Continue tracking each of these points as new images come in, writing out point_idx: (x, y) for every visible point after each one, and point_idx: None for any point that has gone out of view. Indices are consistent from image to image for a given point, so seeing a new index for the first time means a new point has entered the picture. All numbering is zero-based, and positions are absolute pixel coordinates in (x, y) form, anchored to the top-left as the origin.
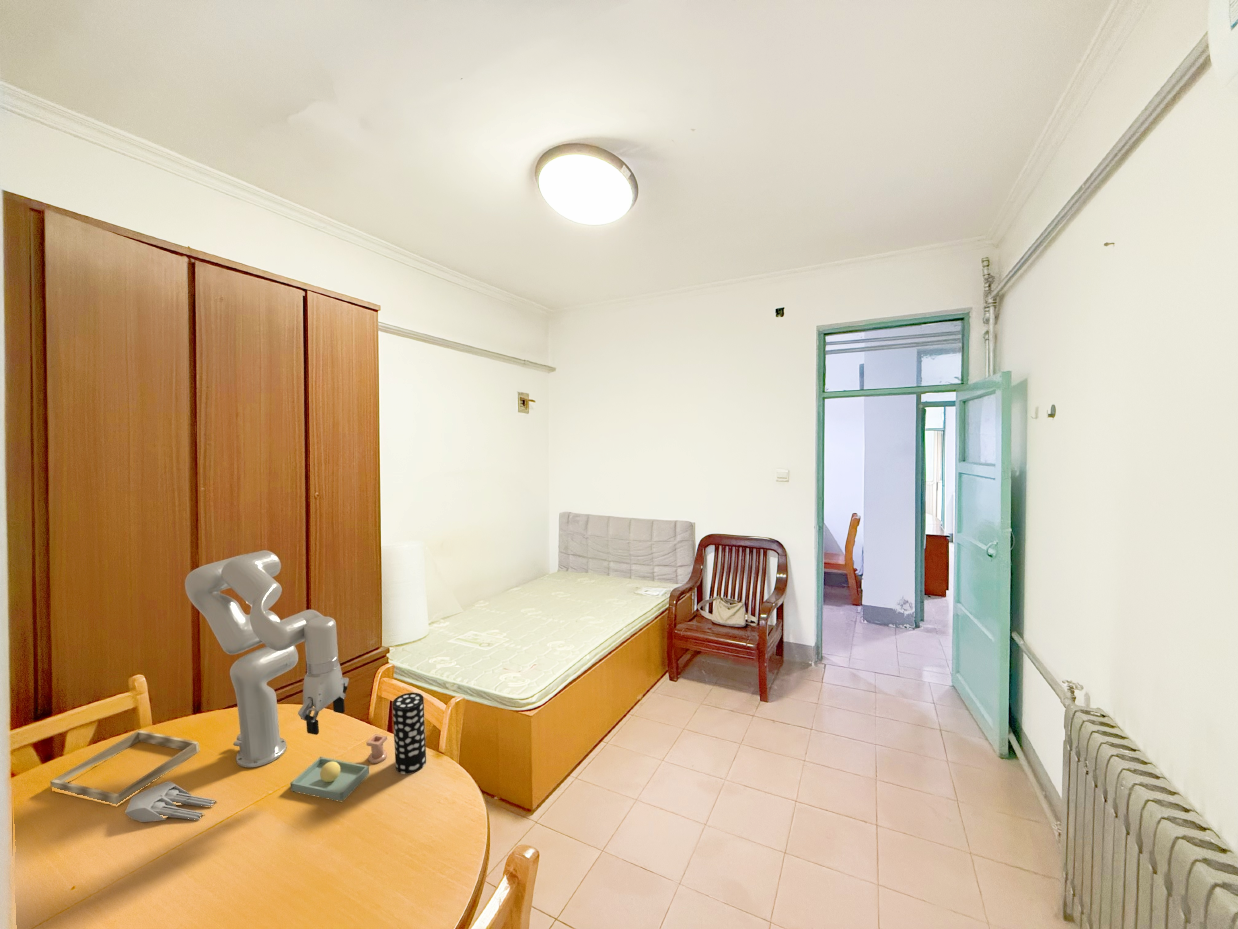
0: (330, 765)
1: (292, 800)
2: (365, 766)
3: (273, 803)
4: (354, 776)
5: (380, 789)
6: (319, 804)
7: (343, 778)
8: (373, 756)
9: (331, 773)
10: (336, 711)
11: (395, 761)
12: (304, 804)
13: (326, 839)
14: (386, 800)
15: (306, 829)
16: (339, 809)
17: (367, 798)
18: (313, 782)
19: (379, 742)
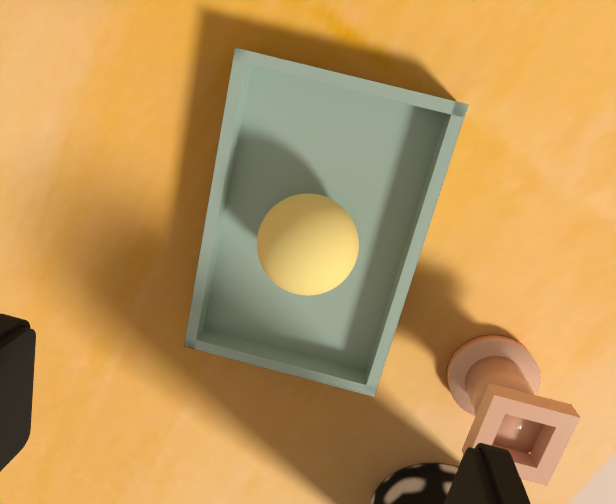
0: (288, 269)
1: (188, 98)
2: (371, 383)
3: (159, 8)
4: (337, 330)
5: (279, 444)
6: (177, 239)
7: None
8: (470, 378)
9: (267, 274)
10: (455, 490)
11: (409, 494)
12: (170, 172)
13: None
14: (222, 480)
15: (46, 253)
16: (159, 333)
17: (227, 414)
18: (292, 151)
19: None
